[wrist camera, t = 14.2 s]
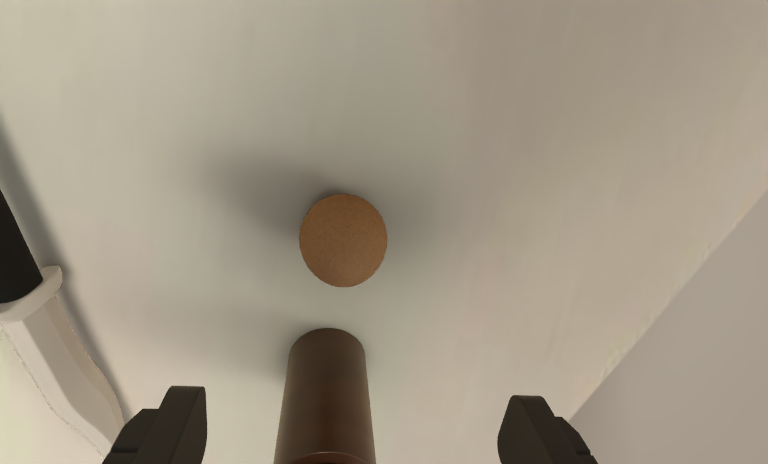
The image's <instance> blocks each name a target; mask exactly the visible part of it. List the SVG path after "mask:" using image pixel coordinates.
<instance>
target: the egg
mask: <svg viewBox="0 0 768 464" xmlns="http://www.w3.org/2000/svg"><path fill="white" fill-rule="evenodd" d="M299 240H300V250H301V253H302V256H303V259H304V261H305V263H306V265H307V267H308V268H309V269H310V270H311V271H312V273H313V274H314V275H315V276H316V277H318V278H319V279H320V280H322V281H324V282H325V283H327V284H330V285H333V286H337V287H350V286H355V285H357V284H360V283H362V282H363V281H365V280H367V279H368V278H369V277H371V276H372V275H373V274H374V273H375V271H376V270H377V269H378V267H379V266H380V264H381V262H382V260H383V258H384V255H385V251H386V247H387V234H386V228H385V224H384V221H383V219H382V217H381V215H380V214H379V213H378V211H377V210H376V209H375V208H374V207H373V206H372V205H371V204H370V203H369V202H367V201H366V200H364V199H362V198H360V197H357V196H354V195H349V194H337V195H332V196H329V197H326V198H324V199H322V200H321V201H319V202H317V203H316V204H315V205H314V206H313V207H312V208H311V209H310V210H309V212H308V213H307V215H306V216H305V218H304V220H303V222H302V225H301V229H300V237H299Z"/></svg>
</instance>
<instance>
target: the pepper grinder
mask: <svg viewBox="0 0 768 464" xmlns="http://www.w3.org/2000/svg"><path fill="white" fill-rule="evenodd" d="M273 464H376V458H375V448H374V439H373V429H372V419H371V410H370V400H369V390H368V380H367V371H366V361H365V353H364V349H363V347H362V345H361V344H360V342H359V341H358V340H357V339H356V338H355V337H354V336H352V335H351V334H349V333H347V332H345V331H342V330H337V329H319V330H315V331H312V332H310V333H308V334H306V335H304V336H302V337H301V338H300V339H299V340H298V341H297V342H296V343H295V344H294V346H293V347H292V349H291V351H290V354H289V360H288V367H287V374H286V381H285V388H284V395H283V402H282V408H281V415H280V422H279V429H278V436H277V443H276V449H275V456H274V463H273Z"/></svg>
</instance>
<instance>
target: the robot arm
mask: <svg viewBox="0 0 768 464" xmlns="http://www.w3.org/2000/svg"><path fill="white" fill-rule="evenodd" d="M206 441H207V414H206V393H205V388H204V387H197V386H171V387H170V388H169V389H168V391H167V393H166V395H165V397H164V399H163V401H162V403H161V405H160V407H159V409H142V410H141V411H140V412H139V413H138V414H137V415H135V416H134V417H133V418H132V419H131V420H130V421H129V422H128V423H127V424H126V425H124V426H123V428H122V429H121V431H120V433H119V435H118V436H117V438H116V440H115V442H114V444H113V445H112V447H111V450H110V453H108V454H107V456H106V458H105V459H104V461H103V463H102V464H201V462H202V459H203V456H204V452H205V447H206ZM497 443H498V453H499V458H500V461H501V463H502V464H598V463H597V461H596V460H595V458H594V457H593V456H591V454H590V450H589V449H588V447H587V446H586V444H585V442H584V441H583V439H582V438H581V436H580V434H579V433H578V432H577V431H576V430H575V429H574V428H573V427H572V426H571V425H570V424H569V423H568V422H566V421H565V420H564V419H563V418H562V417H555V416H554V414H553V412H552V411H551V409H550V407H549V406H548V404H547V402H546V401H545V399H544V398H543V397H541V396H523V395H514V396H512V397H511V398H510V401H509V403H508V407H507V410H506V413H505V416H504V419H503V422H502V425H501V428H500V431H499V434H498V442H497Z"/></svg>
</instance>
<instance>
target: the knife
mask: <svg viewBox="0 0 768 464" xmlns="http://www.w3.org/2000/svg"><path fill="white" fill-rule="evenodd" d="M61 285H62V271H61V269H60V267H59V266H58V265H54V266H46V267H43V268H42V269H41V270H40V271H39V269H38V267H37V265H36V263H35V261H34V259H33V257H32V255H31V253H30V250H29V248H28V246H27V244H26V242H25V240H24V238H23V236H22V233H21V231H20V229H19V227H18V225H17V223H16V220H15V218H14V216H13V214H12V212H11V210H10V208H9V206H8V204H7V202H6V200H5V198H4V196H3V194H2V192H1V190H0V325H1V327H2V329H3V330H4V332H5V334H6V335H7V337H8V339H9V340H10V342H11V343H12V345H13V347H14V348H15V350H16V352H17V353H18V355H19V357H20V358H21V360H22V362H23V363H24V365H25V367H26V368H27V370H28V371H29V373H30V375H31V376H32V378H33V380H34V381H35V383H36V385H37V387H38V388H39V390H40V392H41V393H42V395H43V397H44V398H45V400H46V402H47V403H48V405H49V406H50V407H51V409H52V410H53V411H54V412H55V414H56V415H57V416H58V417H59V418H61V419H62V420H63V421H64V422H66V423H67V424H68V425H70V426H71V427H73V428H74V429H75V430H77V431H78V432H79V433H80V434H82V435H83V436H84V437H85V438H86V439H87V440H88V441H89V442H90V443H91V444H92V445H93V446H94V447H95V449H96V450H97V451H98V453H99V454H100V455H101V456H102V458H103V459H105V458H106V456H107V454H108V453H110V450H111V447H112V445H113V444H114V442H115V440H116V438H117V436H118V435H119V433H120V431H121V429H122V428H123V426H124V425H125V424H124V420H123V415H122V412H121V409H120V406H119V403H118V400H117V397H116V395H115V393H114V391H113V389H112V387H111V385H110V383H109V382H108V381H107V379H106V378H105V376H104V375H103V374H102V372H101V371H100V370H99V369H98V368H97V366H96V365H95V364H94V362H93V361H92V360H91V359H90V357H89V356H88V354H87V353H86V351H85V350H84V348H83V347H82V345H81V344H80V342H79V340H78V339H77V337H76V335H75V334H74V332H73V330H72V328H71V326H70V325H69V323H68V321H67V319H66V317H65V315H64V313H63V311H62V309H61V307H60V305H59V303H58V301H57V299H56V297H55V295H54V294H55V293H56V292H57V291H58V290H59V288H60V287H61Z"/></svg>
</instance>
